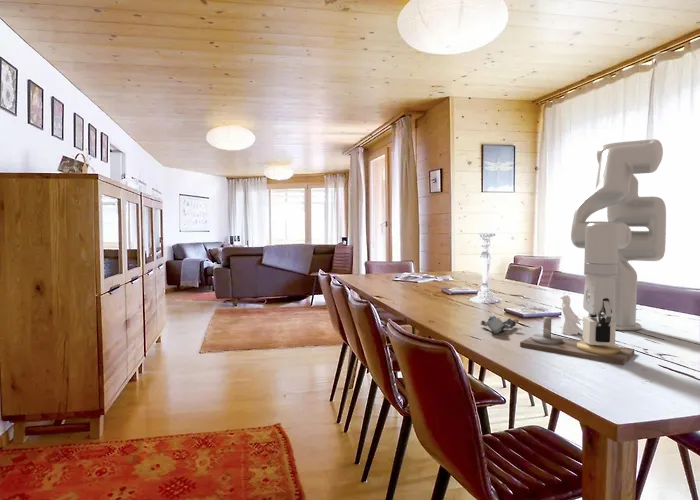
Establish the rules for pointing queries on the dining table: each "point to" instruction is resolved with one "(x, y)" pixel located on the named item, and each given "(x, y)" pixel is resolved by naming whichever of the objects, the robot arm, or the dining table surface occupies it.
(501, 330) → the toy
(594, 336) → the collar
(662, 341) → the dining table surface
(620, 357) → the workboard
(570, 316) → the figurine
